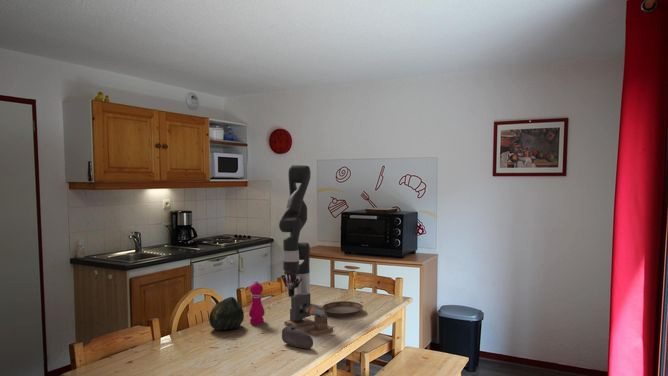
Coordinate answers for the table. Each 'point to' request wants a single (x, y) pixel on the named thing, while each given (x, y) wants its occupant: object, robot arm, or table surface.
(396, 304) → the table surface
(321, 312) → the pipe
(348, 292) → the table surface
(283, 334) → the perforated stone tool
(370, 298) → the table surface
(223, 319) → the squash
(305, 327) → the pipe stand
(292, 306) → the collar
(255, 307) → the pepper mill
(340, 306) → the plant saucer
